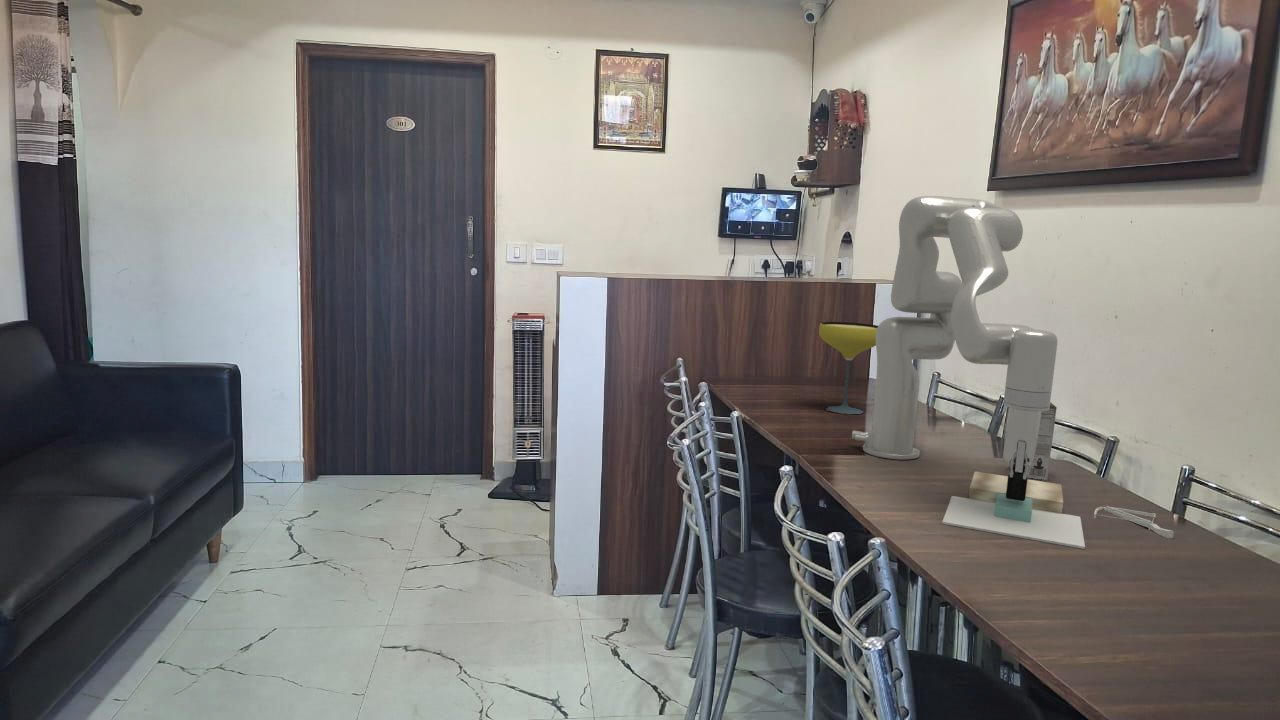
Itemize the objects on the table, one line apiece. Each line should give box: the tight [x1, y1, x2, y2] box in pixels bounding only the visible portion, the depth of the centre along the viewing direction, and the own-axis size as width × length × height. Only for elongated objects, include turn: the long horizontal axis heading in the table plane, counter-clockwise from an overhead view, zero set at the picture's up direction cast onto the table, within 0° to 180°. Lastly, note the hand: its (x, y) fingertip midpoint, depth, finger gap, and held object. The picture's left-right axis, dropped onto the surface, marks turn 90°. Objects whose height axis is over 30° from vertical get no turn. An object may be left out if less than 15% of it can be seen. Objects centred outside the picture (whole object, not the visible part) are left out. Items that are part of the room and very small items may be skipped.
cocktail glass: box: [818, 321, 879, 415], centre depth 244 cm, size 18×18×25 cm
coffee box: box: [1008, 401, 1058, 481], centre depth 184 cm, size 9×6×16 cm
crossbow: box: [1093, 505, 1174, 539], centre depth 154 cm, size 16×13×2 cm
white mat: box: [941, 495, 1086, 550], centre depth 150 cm, size 22×18×1 cm
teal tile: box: [994, 493, 1032, 523], centre depth 154 cm, size 6×9×2 cm, turn 155°
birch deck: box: [968, 471, 1064, 514], centre depth 165 cm, size 16×14×2 cm
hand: (1015, 498), depth 154 cm, fingers closed
